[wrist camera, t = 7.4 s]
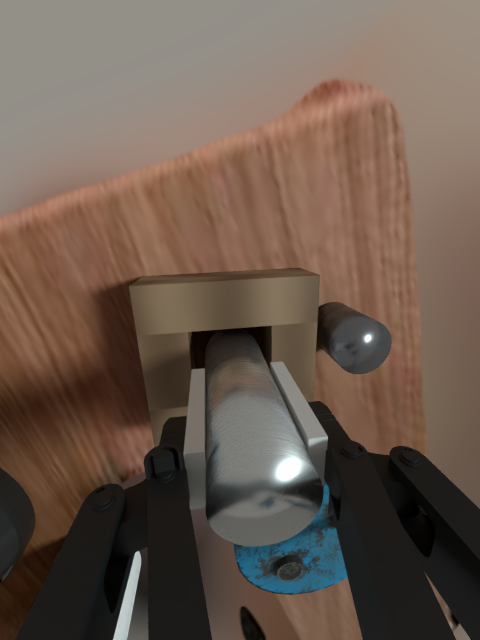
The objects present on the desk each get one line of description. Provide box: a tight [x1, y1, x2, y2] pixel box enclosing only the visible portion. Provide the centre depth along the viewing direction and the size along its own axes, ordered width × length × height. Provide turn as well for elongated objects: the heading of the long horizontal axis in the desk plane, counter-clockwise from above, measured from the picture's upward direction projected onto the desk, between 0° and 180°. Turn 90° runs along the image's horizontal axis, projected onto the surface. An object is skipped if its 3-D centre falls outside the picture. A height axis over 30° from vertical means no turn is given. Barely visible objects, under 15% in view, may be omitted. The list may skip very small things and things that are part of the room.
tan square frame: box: [129, 268, 320, 447], centre depth 21 cm, size 12×12×4 cm
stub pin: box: [316, 302, 391, 374], centre depth 21 cm, size 4×4×5 cm
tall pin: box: [205, 328, 324, 546], centre depth 15 cm, size 4×4×12 cm
